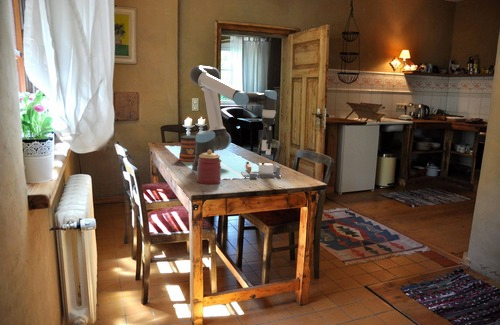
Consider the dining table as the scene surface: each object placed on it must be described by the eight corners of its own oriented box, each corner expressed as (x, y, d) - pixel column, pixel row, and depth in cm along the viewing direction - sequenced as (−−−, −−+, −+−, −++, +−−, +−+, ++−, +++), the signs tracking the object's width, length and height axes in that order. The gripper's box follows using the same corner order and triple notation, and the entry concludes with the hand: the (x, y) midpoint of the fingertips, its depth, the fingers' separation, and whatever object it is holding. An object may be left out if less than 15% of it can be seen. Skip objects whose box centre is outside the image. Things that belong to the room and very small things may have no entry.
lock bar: (248, 171, 234) (248, 165, 234) (245, 167, 246) (245, 161, 245) (251, 171, 235) (251, 165, 234) (248, 167, 246) (248, 161, 246)
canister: (222, 184, 204) (223, 151, 201) (197, 184, 202) (198, 151, 198) (218, 178, 217) (220, 147, 214) (195, 178, 214) (196, 147, 211)
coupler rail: (244, 178, 221) (245, 169, 220) (241, 172, 236) (241, 163, 235) (281, 179, 224) (282, 169, 223) (276, 173, 239) (276, 164, 238)
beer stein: (203, 157, 279) (204, 130, 275) (208, 161, 265) (209, 132, 262) (177, 158, 273) (178, 130, 269) (180, 162, 259) (181, 132, 255)
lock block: (259, 174, 230) (260, 163, 229) (258, 172, 235) (258, 161, 234) (272, 175, 231) (273, 163, 230) (270, 173, 237) (271, 162, 235)
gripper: (279, 119, 215) (276, 156, 220) (270, 115, 239) (267, 149, 244) (266, 118, 214) (263, 156, 218) (258, 114, 238) (256, 148, 242)
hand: (265, 152), depth 231 cm, fingers open, 13 cm apart
